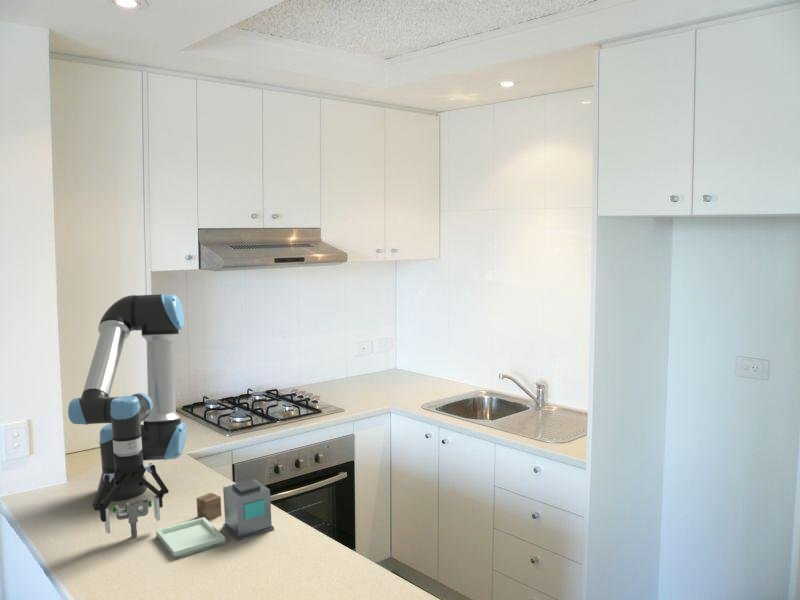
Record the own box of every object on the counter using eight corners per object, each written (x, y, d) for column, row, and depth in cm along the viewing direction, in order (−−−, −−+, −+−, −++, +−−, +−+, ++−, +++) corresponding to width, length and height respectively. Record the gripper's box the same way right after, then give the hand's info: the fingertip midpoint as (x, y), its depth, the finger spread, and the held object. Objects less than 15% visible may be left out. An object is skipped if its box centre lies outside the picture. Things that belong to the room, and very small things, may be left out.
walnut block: (197, 516, 213) (196, 497, 212) (211, 511, 217) (210, 492, 216) (207, 521, 210) (206, 502, 209) (221, 515, 213) (220, 496, 213)
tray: (156, 536, 200) (156, 530, 200) (204, 523, 208) (204, 516, 208) (174, 559, 187) (174, 552, 187) (225, 543, 195) (224, 536, 195)
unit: (222, 526, 206) (220, 483, 204) (258, 516, 212) (255, 474, 210) (237, 540, 197) (235, 496, 195) (274, 529, 203) (272, 486, 201)
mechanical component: (115, 537, 200) (112, 504, 199) (153, 531, 204) (151, 498, 202) (114, 542, 197) (112, 508, 196) (153, 535, 201) (151, 502, 200)
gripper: (83, 465, 187) (88, 542, 189) (177, 446, 201) (181, 518, 204) (77, 458, 193) (82, 532, 195) (168, 440, 207) (173, 509, 210)
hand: (133, 525), depth 200 cm, fingers open, 13 cm apart
